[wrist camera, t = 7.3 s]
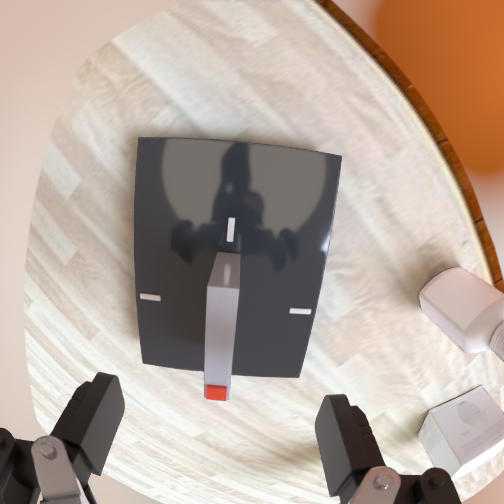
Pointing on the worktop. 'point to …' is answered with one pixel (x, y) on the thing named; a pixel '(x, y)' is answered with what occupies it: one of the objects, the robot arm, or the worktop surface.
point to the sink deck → (231, 247)
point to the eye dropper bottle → (466, 310)
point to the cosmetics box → (463, 432)
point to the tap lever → (221, 325)
